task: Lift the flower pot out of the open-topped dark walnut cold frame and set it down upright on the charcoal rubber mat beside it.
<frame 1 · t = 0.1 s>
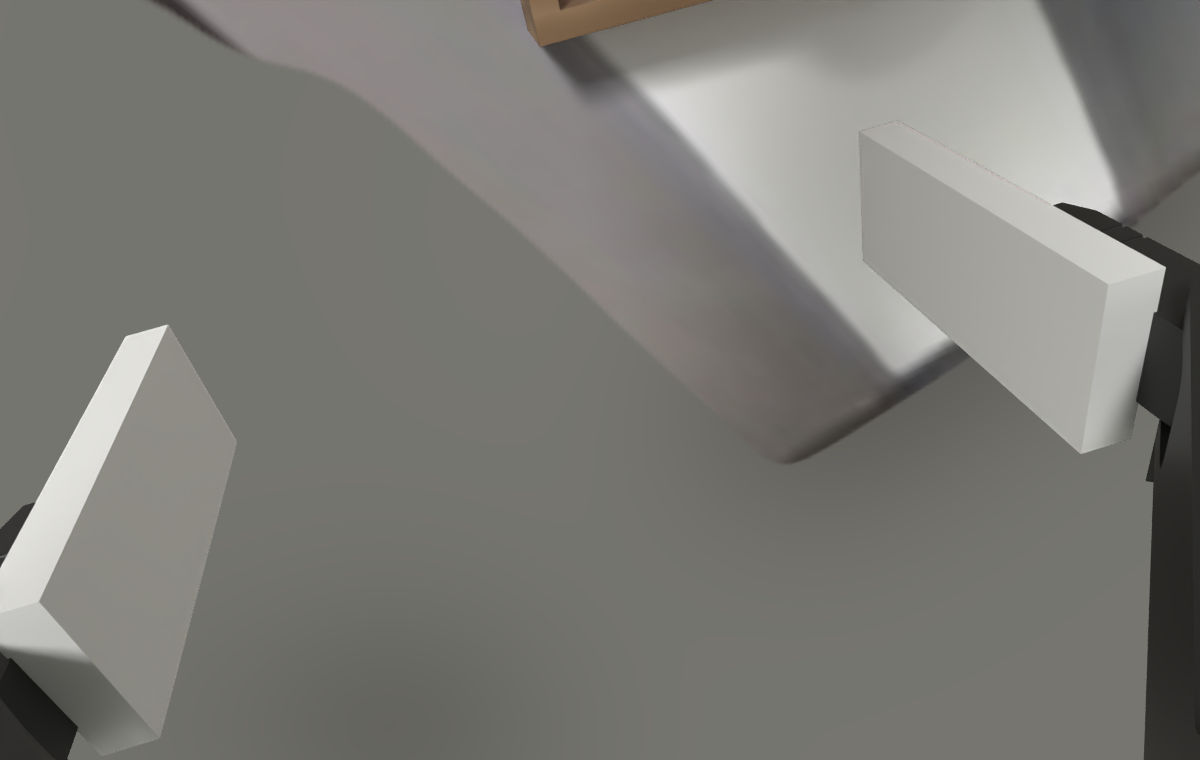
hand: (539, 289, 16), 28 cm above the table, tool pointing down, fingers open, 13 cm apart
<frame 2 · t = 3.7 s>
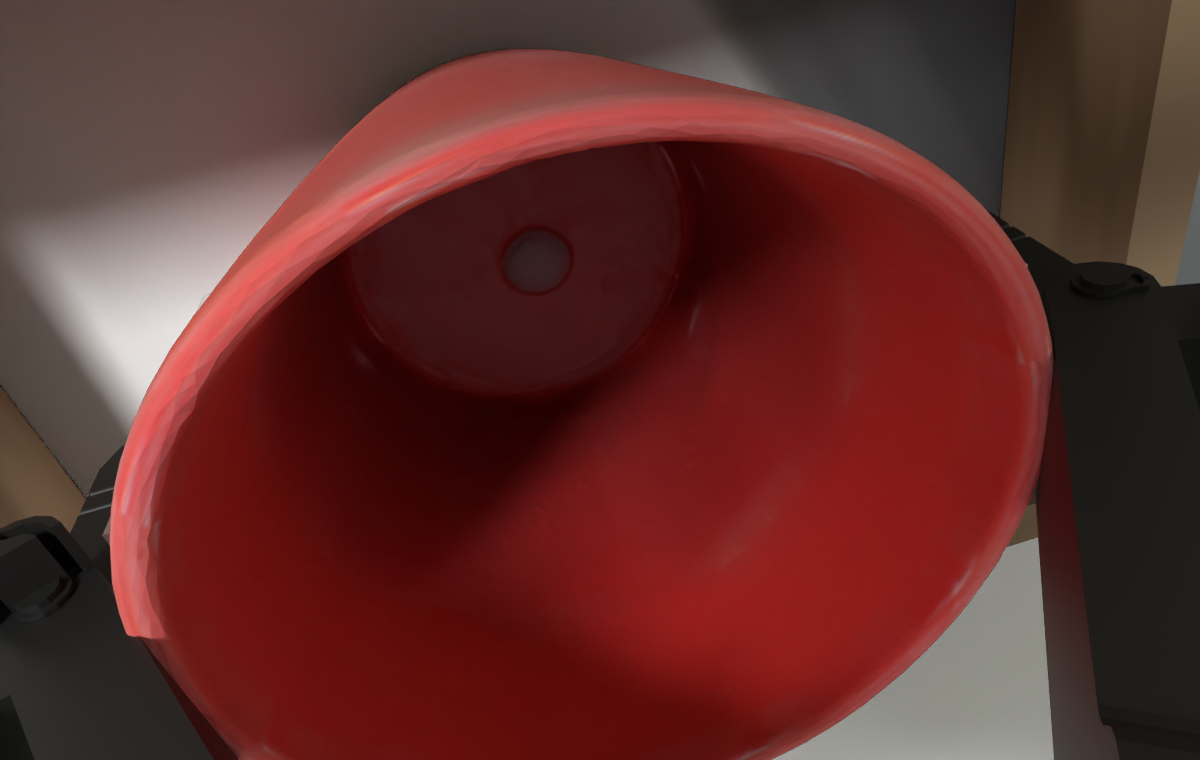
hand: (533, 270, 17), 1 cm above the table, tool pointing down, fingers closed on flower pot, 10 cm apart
flower pot: (521, 238, 18), resting in cold frame, touching gripper
cold frame: (523, 240, 18), on the table
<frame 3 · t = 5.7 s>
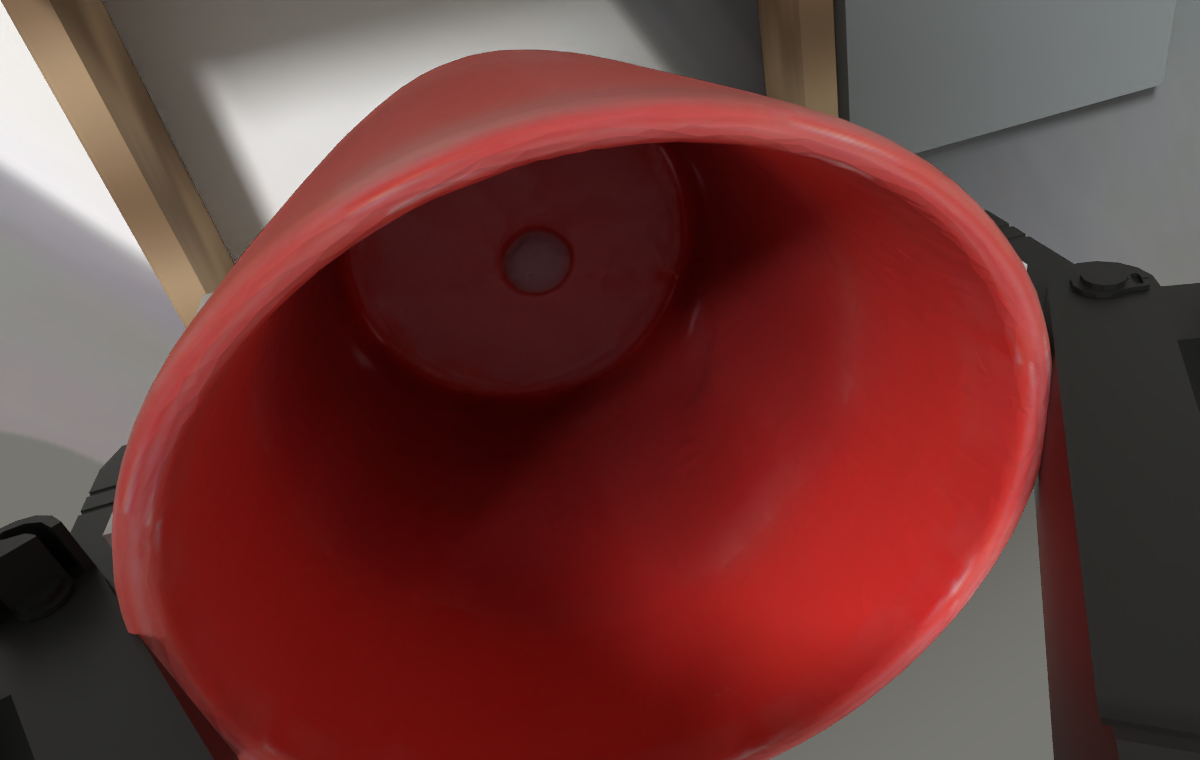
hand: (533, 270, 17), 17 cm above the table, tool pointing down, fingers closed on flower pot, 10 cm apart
flower pot: (521, 238, 18), point 16 cm above the table, touching gripper
cold frame: (476, 84, 31), on the table
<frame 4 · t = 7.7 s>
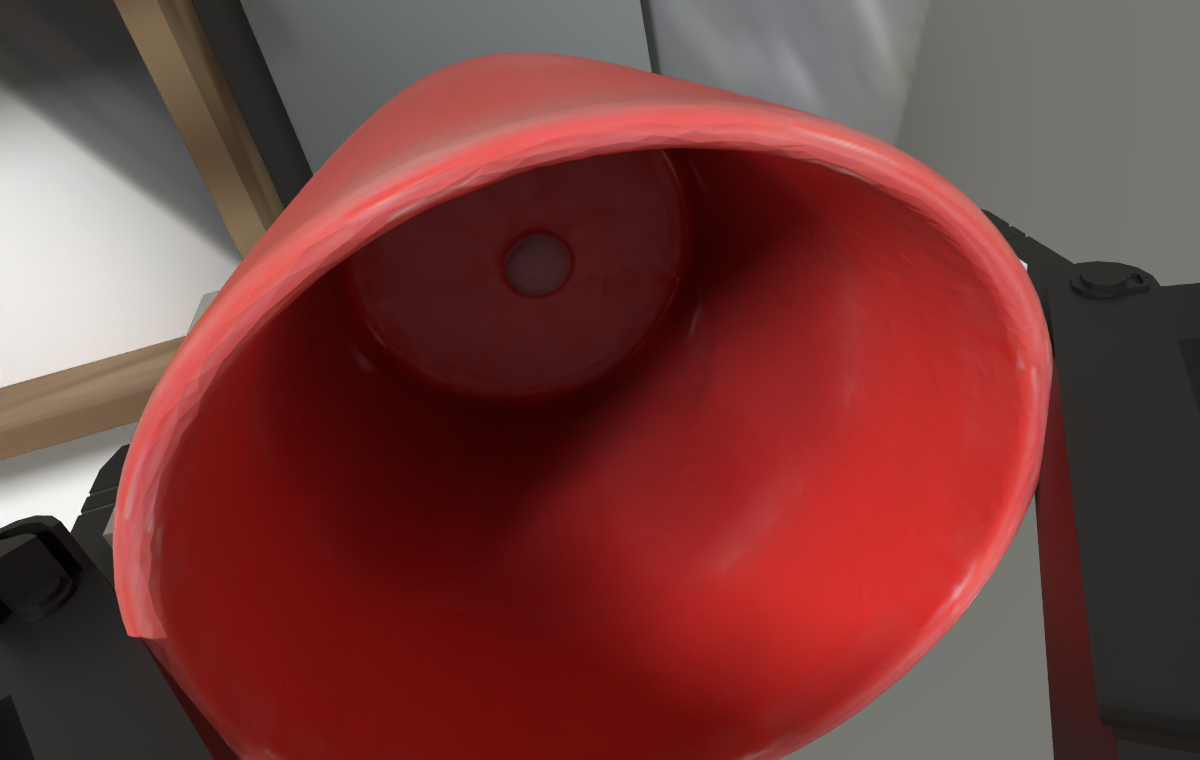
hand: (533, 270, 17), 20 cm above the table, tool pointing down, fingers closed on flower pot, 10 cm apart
rubber mat: (465, 59, 33), on the table
flower pot: (521, 241, 18), point 18 cm above the table, touching gripper
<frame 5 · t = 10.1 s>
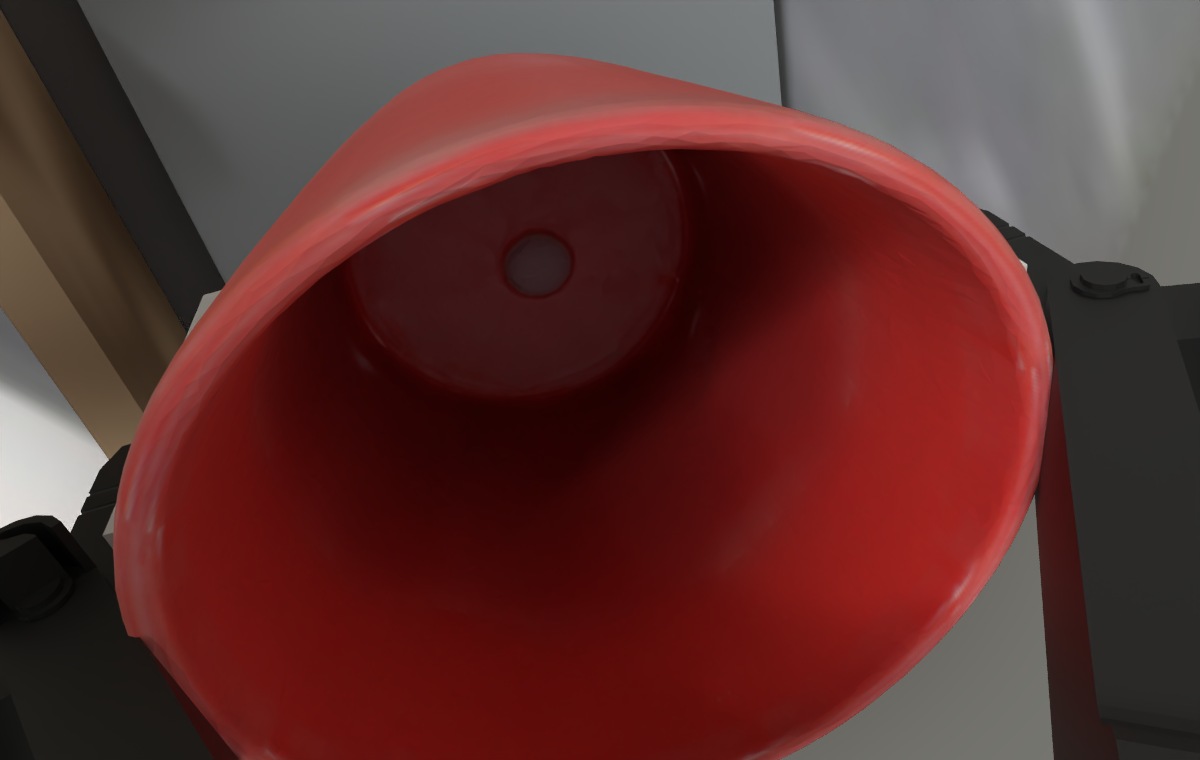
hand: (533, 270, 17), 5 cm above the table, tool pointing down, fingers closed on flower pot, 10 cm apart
rubber mat: (502, 179, 21), on the table
flower pot: (522, 241, 18), point 4 cm above the table, touching gripper
when the fingers open (3 cm above the table, at t = 11.7 s): flower pot moves 2 cm, resting on rubber mat.
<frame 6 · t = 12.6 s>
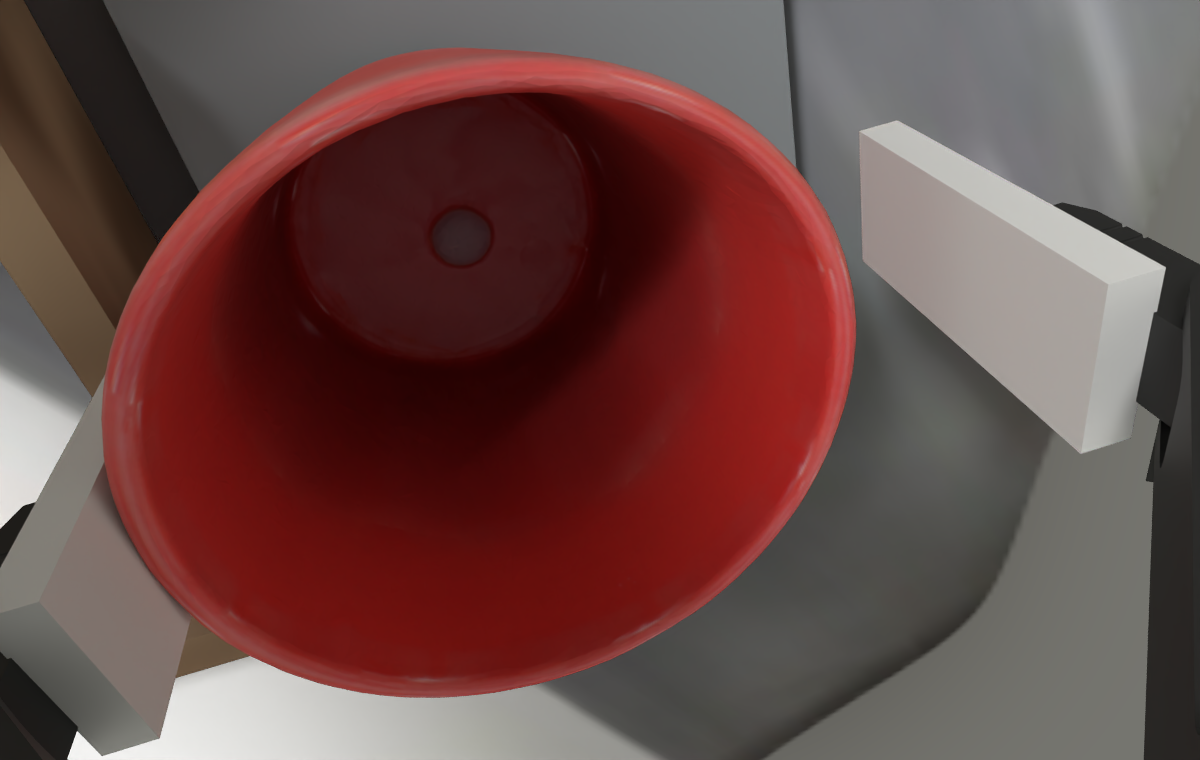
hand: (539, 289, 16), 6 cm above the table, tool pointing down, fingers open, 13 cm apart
rubber mat: (517, 186, 21), on the table
flower pot: (448, 219, 20), point 1 cm above the table, touching gripper, rubber mat
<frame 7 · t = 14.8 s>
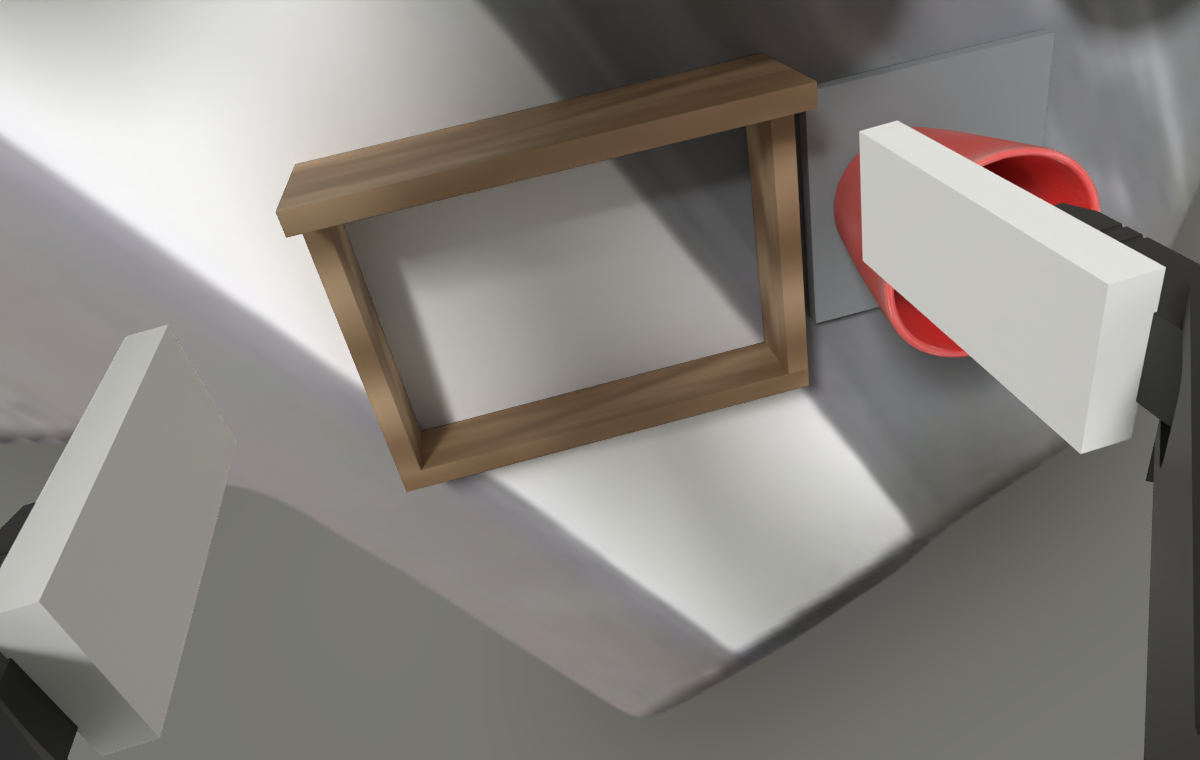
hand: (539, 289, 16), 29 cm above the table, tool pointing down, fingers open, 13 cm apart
rubber mat: (918, 182, 49), on the table
flower pot: (894, 193, 48), point 1 cm above the table, touching rubber mat
cold frame: (569, 270, 47), on the table
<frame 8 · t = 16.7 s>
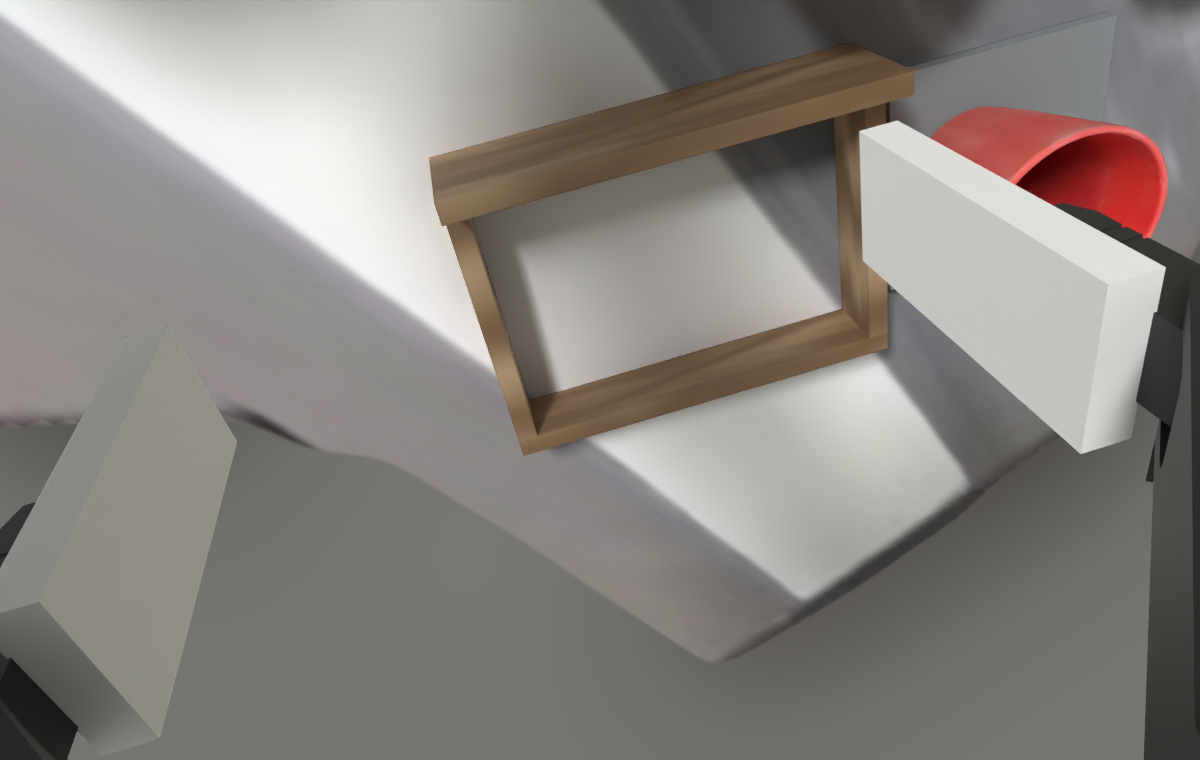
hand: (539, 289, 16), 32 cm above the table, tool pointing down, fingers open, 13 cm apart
rubber mat: (987, 157, 53), on the table
flower pot: (966, 168, 52), point 1 cm above the table, touching rubber mat
cold frame: (668, 247, 51), on the table
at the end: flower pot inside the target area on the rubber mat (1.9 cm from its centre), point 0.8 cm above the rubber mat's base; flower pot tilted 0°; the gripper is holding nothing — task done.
